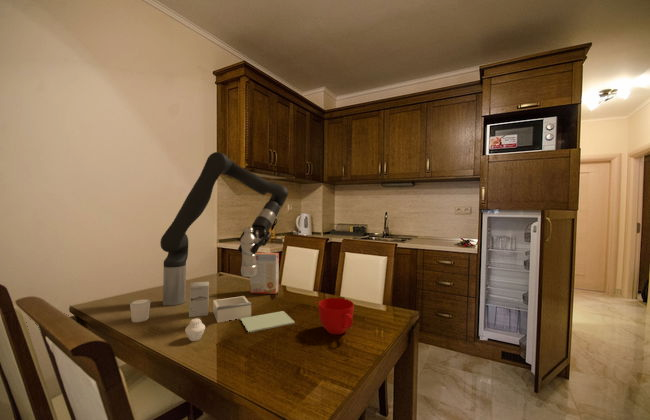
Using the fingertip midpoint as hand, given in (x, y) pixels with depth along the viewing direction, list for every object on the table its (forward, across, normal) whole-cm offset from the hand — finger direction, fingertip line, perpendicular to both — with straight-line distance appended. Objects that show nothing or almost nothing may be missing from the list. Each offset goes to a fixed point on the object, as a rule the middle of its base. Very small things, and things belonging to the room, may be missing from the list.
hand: (246, 252), depth 112 cm
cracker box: (-3, -16, +42) cm, 45 cm away
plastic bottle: (+6, 0, +9) cm, 11 cm away
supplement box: (+23, -21, +15) cm, 35 cm away
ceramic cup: (+16, +38, +23) cm, 47 cm away
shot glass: (+33, -37, +4) cm, 49 cm away
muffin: (+34, -3, +4) cm, 35 cm away
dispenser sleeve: (+19, -8, +19) cm, 28 cm away
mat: (+18, +9, +20) cm, 29 cm away
